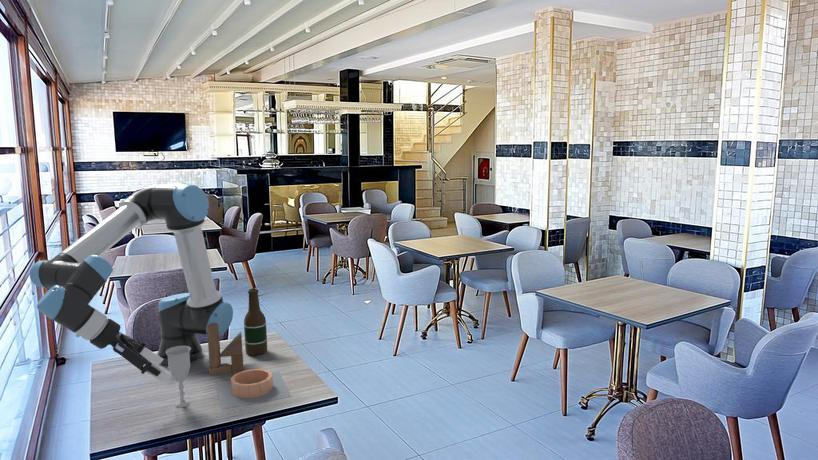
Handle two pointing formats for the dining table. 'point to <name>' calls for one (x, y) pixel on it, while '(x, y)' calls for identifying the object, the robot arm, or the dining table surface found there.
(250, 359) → the dining table surface
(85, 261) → the robot arm
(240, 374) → the ceramic collar
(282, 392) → the slate board
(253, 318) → the beer bottle
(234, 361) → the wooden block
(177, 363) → the chalice
